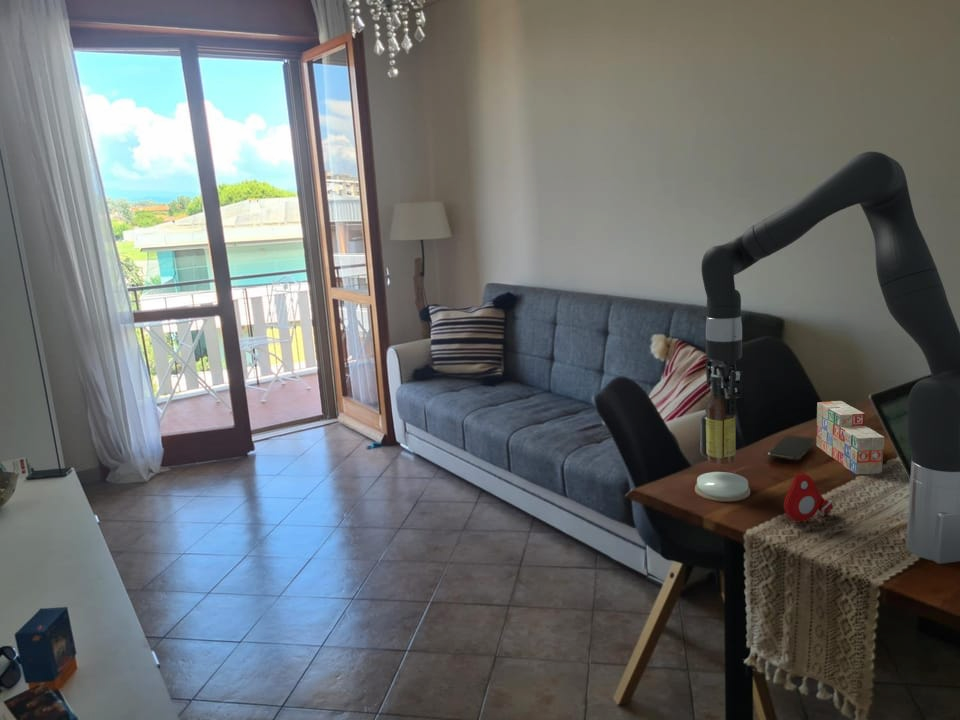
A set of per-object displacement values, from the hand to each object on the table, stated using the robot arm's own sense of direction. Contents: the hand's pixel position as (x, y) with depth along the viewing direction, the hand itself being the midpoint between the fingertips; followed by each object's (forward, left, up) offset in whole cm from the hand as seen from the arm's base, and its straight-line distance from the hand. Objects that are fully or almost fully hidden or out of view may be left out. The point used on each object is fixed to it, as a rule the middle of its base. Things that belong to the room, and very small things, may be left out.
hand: (723, 410), depth 158 cm
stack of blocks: (+11, -37, -20) cm, 43 cm away
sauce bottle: (0, +1, -12) cm, 12 cm away
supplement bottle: (+5, 0, -12) cm, 13 cm away
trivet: (0, 0, -19) cm, 19 cm away
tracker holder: (-18, -10, -19) cm, 28 cm away
